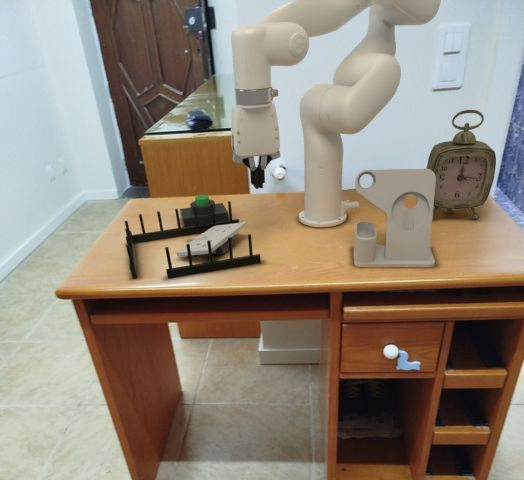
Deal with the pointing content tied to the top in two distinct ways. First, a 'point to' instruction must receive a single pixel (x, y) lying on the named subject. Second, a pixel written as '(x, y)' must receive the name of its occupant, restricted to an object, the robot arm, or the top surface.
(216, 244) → the wall socket
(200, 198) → the button
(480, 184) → the tabletop clock
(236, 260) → the dish rack
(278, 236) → the top surface
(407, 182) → the phone holder
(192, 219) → the control block
